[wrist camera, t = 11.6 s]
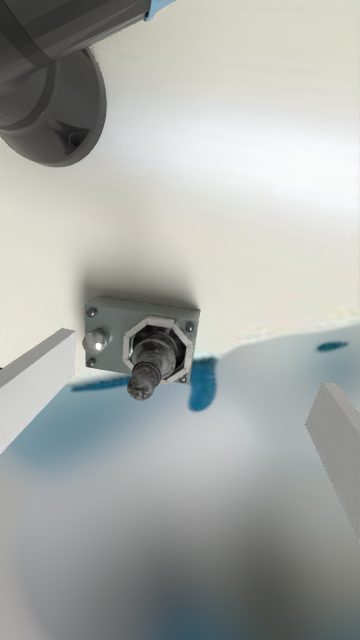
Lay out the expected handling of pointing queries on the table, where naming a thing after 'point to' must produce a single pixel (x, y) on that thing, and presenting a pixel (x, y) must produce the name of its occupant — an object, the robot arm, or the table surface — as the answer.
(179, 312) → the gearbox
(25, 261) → the table surface
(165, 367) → the dark grey tapered piece
